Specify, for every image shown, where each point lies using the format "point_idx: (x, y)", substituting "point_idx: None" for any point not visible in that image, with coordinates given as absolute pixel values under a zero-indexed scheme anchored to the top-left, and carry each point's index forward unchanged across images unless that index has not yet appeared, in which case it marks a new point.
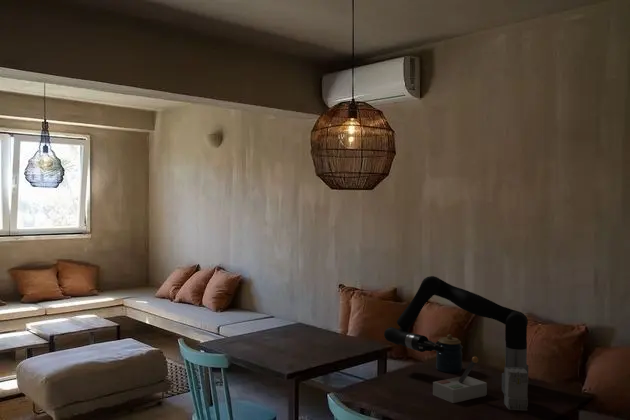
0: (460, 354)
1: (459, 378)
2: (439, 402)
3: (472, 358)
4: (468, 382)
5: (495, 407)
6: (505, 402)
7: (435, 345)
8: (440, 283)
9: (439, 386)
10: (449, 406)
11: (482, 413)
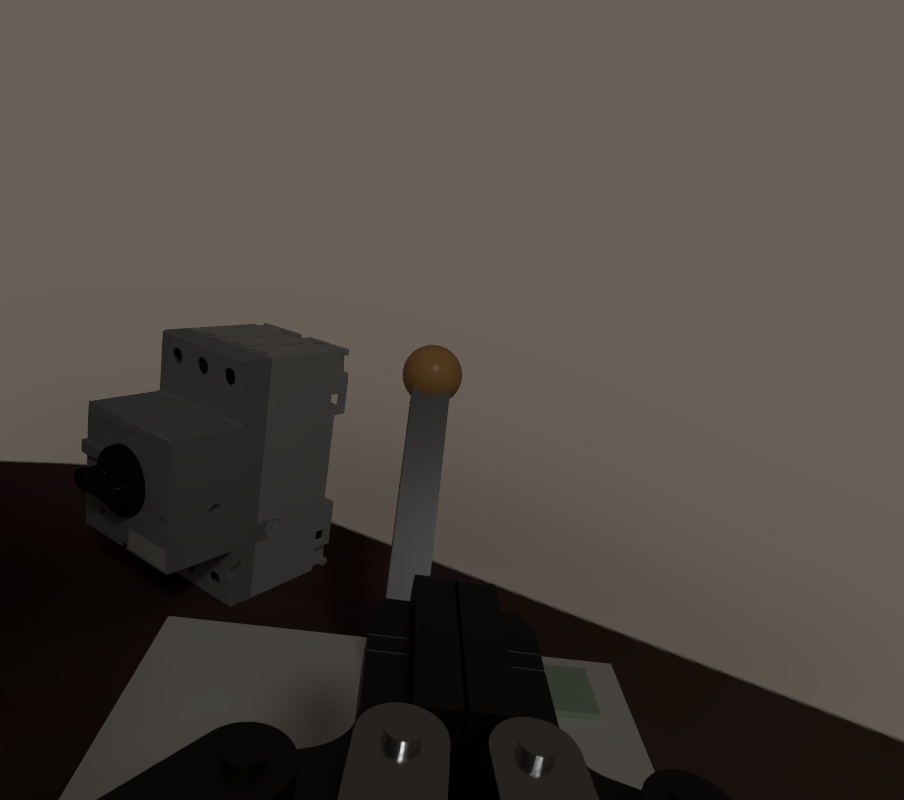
0: None
1: None
2: None
3: (458, 369)
4: (307, 695)
5: (362, 601)
6: (267, 575)
7: (528, 720)
8: None
9: None
10: (654, 740)
11: (513, 600)
